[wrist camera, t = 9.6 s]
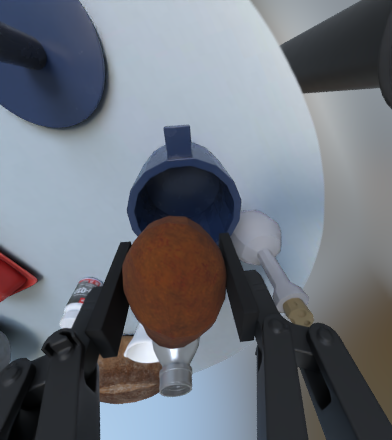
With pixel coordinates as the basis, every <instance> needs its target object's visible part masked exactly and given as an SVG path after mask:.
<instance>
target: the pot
mask: <svg viewBox="0 0 392 440" xmlns="http://www.w3.org/2000/svg"><path fill="white" fill-rule="evenodd" d="M164 135H165V142H166V145H164V146H162V147H161V148H159V149H158V150H156V151H154V152H153V153H152V155H151V156H150V157H149V159H148V160H147V162H146V163H145V164H144V166H143V168H142V169H141V171H140V173H139V175H138V177H137V179H136V181H135V183H134V185H133V187H132V189H131V191H130V196H129V201H128V207H127V214H128V217H129V220H130V224H131V227H132V230H133V231H134V233H135V234H136V235H137V236H139V235H140V234H141V233H142V231H143V230H144V229H145V228H146V227H147V226H148V225H149V224H150V223H152V222H154V221H156V220H159V219H161V218H164V217H167V216H185V217H187V218H189V219H191V220H192V221H194V222H196V223H198V224H199V225H200V226H201V227H202V228H203V229H204V230H205V231H206V232H207V233H208V234H209V235H210V236H211V237H212V239H213V240H214V242H215V243H216V244H217V246H218V247H219V233H227V232H229V235H230V236H231V235H232V233H233V231H234V230H235V228H236V226H237V224H238V222H239V220H240V210H241V198H240V196H239V193H238V191H237V188H236V185H235V183H234V181H233V180H232V178H231V177H230V175H229V174H228V173H227V171H226V170H225V169H224V167H223V166H222V165H221V163H220V162H219V160H218V159H217V158H216V157H215V156H214V155H213V154H212V153H211V152H210V151H208V150H207V149H206V148H205V147H202V146H200V145H198V144H195V143H191V135H190V126H189V125H178V126H165V127H164Z"/></svg>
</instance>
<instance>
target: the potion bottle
mask: <svg viewBox="0 0 392 440" xmlns="http://www.w3.org/2000/svg"><path fill="white" fill-rule="evenodd" d="M230 238H231V240H232V243H233V245H234V248H235V250H236V253H237V255H238V258H239V259H240V260H241V261H243V262H245V263H247V264H253V265H262V267H263V269H264V271H265V272H266V274H267V276H268V278H269V280H270V282H271V284H272V286H273V288H274V292H273V296H272V297H273V300H274V303H275V305H276V307H277V309H278V311H279V312H280V313H285V314H286V316H287V317H288V318H289V319H290V320H291V322H292V323H293V324H297V325H301V326H306V327H310V326H311V324H312V323H313V321H314V319H313V314H312V313H311V312H310V310H309V309H308V308H307V306H306V305H307V304H308V300H309V296H308V295H307V294H306V293H305V292H304V291H303V290H302V289H301V287H299V286H297V285H295V284H293V283H291V282H290V280H289V279H288V277H287V275H286V274H285V272H284V271H283V269H282V268H281V266H280V265H279V263H278V261H277V260H276V258H275V257H276V256H277V255H278V254H279V253H280V251H281V230H280V227H279V225H278V223H277V222H275V221H274V220H273V219H271V218H270V217H268V216H267V215H265V214H264V213H262V212H260V211H256V210H248V211H241V212H240V220H239V222H238V224H237V226H236V228H235V230H234V231H233V233H232V235H231V236H230Z"/></svg>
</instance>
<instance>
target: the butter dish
mask: <svg viewBox="0 0 392 440" xmlns="http://www.w3.org/2000/svg"><path fill="white" fill-rule="evenodd" d="M37 281H38V279H37V278H36V277H35V276H33V275H32V274H31V273H29V272H28V271H26V270H25V269H23V268H22V267H21V266H19V265H18V264H16V263H15V262H13V261H12V260H11V259H9V258H8V257H6V256H5V255H4V254H2V253H1V252H0V302H1V301H3V300H4V299H6V298H7V297H8V296H11V295H13V294H15V293H18V292H20V291H22V290H24V289H26V288H28V287H30V286H32V285H34V284H35V283H36V282H37Z"/></svg>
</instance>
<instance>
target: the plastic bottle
mask: <svg viewBox="0 0 392 440" xmlns="http://www.w3.org/2000/svg"><path fill="white" fill-rule="evenodd" d="M199 340H200V337H199V338H197V339H196V340H195V341H193V342H191V343H190V344H188V345H187V346H185V347H183V348H176V349H169V348H165V347H161V346H159V345H157V344H156V343H155V342H154V341H153V340H152V345H153V350H154V352H155V355H156V357H157V359H158V360H159V362H160V364H161V365H162V369H161V370H160V373H159V378H160V386H159V393H160V394H161V395H163V396H167V397H176V396H181V395H185V394H187V393H189V392H190V391H191V390H192V367H191V366H190V362H191V361H192V359H193V357H194V355H195V353H196V350H197V348H198V346H199Z"/></svg>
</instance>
